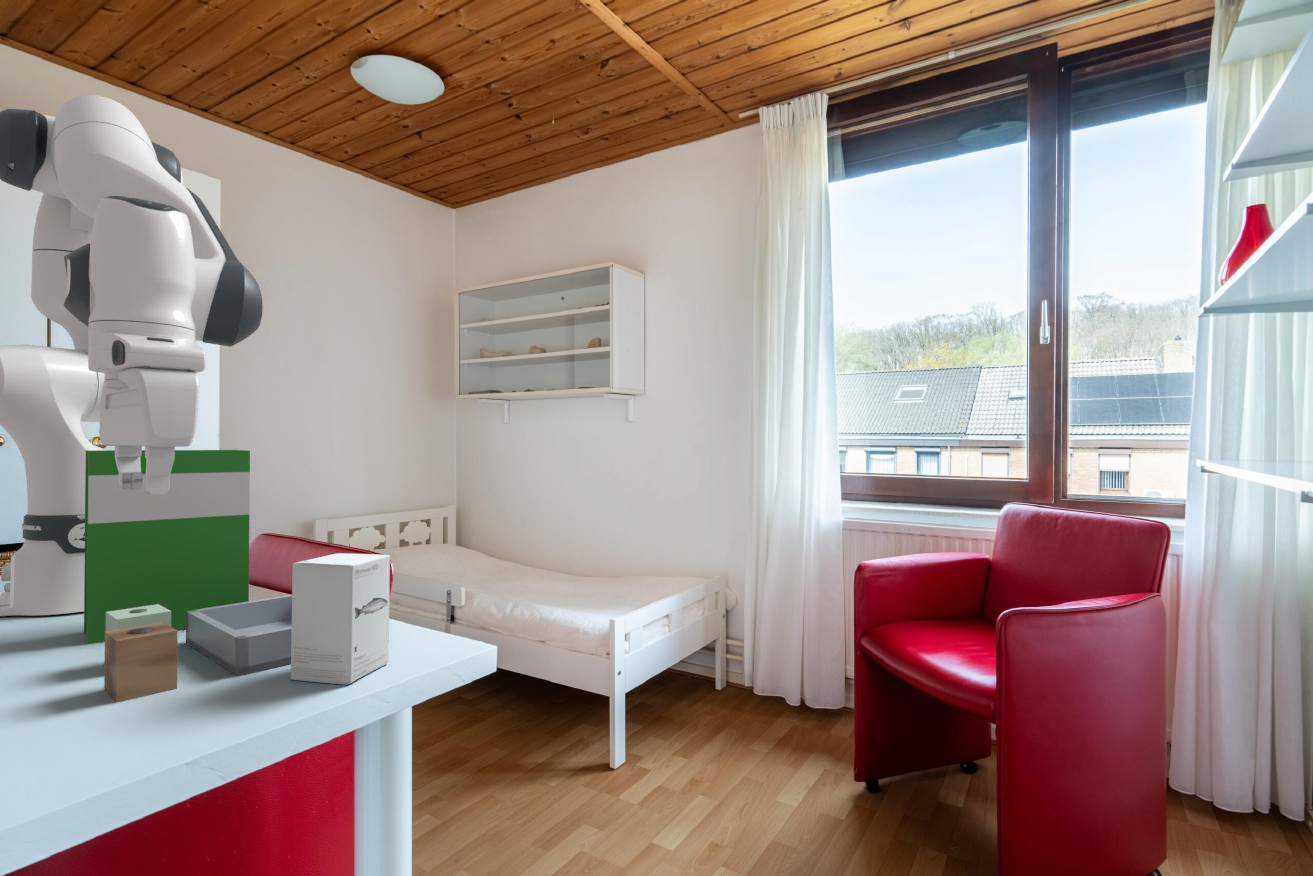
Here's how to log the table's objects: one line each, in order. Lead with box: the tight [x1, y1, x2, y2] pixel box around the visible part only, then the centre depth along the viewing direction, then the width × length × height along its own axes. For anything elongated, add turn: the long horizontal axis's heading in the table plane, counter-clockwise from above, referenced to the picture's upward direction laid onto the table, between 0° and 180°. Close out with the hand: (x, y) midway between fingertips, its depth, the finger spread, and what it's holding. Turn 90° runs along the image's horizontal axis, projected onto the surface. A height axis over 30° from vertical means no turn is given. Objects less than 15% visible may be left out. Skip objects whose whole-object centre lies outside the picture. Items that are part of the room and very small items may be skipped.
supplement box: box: [290, 552, 391, 686], centre depth 77 cm, size 7×7×13 cm
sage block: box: [106, 604, 171, 631], centre depth 79 cm, size 5×5×6 cm
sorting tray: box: [185, 594, 292, 677], centre depth 86 cm, size 18×14×4 cm
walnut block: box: [103, 622, 179, 703], centre depth 71 cm, size 5×5×6 cm
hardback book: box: [83, 449, 251, 645], centre depth 95 cm, size 18×7×24 cm, turn 132°
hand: (142, 491), depth 71 cm, fingers open, 8 cm apart
